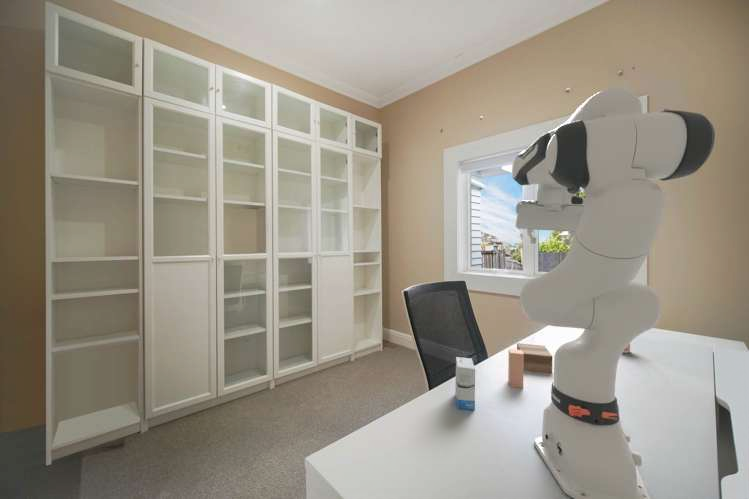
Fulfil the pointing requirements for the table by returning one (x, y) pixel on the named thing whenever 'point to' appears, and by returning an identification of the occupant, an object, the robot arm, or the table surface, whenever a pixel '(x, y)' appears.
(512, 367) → the terracotta block
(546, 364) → the block
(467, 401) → the ink box
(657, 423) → the table surface
